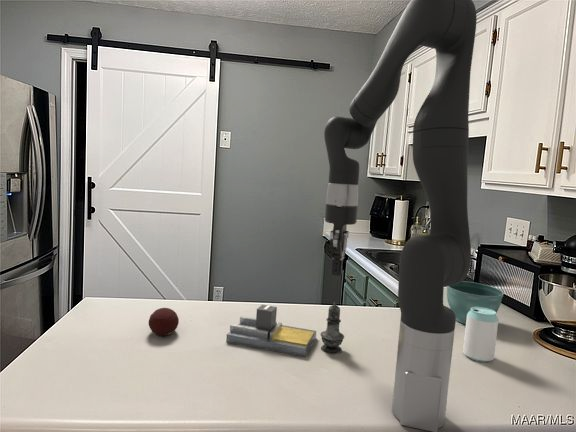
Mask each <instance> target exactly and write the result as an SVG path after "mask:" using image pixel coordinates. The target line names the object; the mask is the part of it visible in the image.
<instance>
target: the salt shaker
mask: <svg viewBox="0 0 576 432" xmlns="http://www.w3.org/2000/svg"><path fill="white" fill-rule="evenodd" d="M327 312H328V313H327V315H328V316H327V318H326V322H327V323H326V324H327V325H326V330H324V331H321V332H320V337H321V341H322V343H323V344H322V345H321V346H320V350H321V352H324V353H327V354H331V355H336V354H337V355H338V354H340V353H342V352H343V349H342V347H341V346H340V345H342V343H343V340H344V339H345V335H344V333H342V332H340V323H341V322H342V320H341V319H340V316H341V308H340V307H339V306H338V305H337V302H336V301H334V302H333V304H332V305H330V306H328V311H327Z"/></svg>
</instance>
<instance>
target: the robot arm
mask: <svg viewBox="0 0 576 432" xmlns="http://www.w3.org/2000/svg"><path fill="white" fill-rule="evenodd" d="M477 17H478V15H477V9H476V6H475V3H474V1H473V0H410V1H409V3H408V4H407V6H406V7H405V9H404V11H403V12H402V15H400V18H399V21H398V22H397V24H396V26H395V28H394V30H393V32H392V34H391V36H390V37H389V39H388V41H387V43H386V46H385V47H384V49H383V52H382V54H381V56H380V57H379V59H378V62H377V64H376V66H375V67H374V69H373V70H372V72H371V74H370V75H369V77H368V79H367V80H366V82H365V83H364V84H363V85H362V86H361V88H360V90H359V91H358V92H357V93H356V95H355V96H354V98H353V99H352V101H351V102H350V105H349V107H348V108H349V109H348V110H349V114H350V116H351V117H346V116H338V115H337V116H332V117H331V118H330V119H329V120H328V121H327V122H326V124H325V127H324V132H323V135H324V143H325V148H326V154H327V158H328V164H329V165H328V166H329V171H328V185H327V190H326V198H325V214H324V221H325V222H326V223H329V224H333V228H332V230H330V232H329V238H330V239H329V242H328V243H329V251H330V255H329V256H330V259H331V260H332V263H331V275H333V276H337V277H340V276H341V275H342V272H343V262H344V259H345V255H346V249H347V248H348V238H349V234H350V232H349V230H347V228H348V227H347V225H355V224H356V223H357V219H358V216H357V215H358V206H359V205H358V204H359V180H360V163H359V162H358V160H356V159H354V158H351V157H348V156H347V153H346V150H345V149H348V150H349V149H350V150H358V149H361V148H363V147H365V146H366V145H367V144H368V142H369V141H370V139H371V138H372V137H371V136H372V135H373V132H374V130H375V128H376V125H377V122H378V120H379V119H380V118H381V117H382V116H383V115H384V113H385V112H386V111H387V110H388V109H389V108H390V106H391V105H392V104H393V102H394V101H395V99H396V97H397V96H398V92H399V89H400V84H401V76H402V72H403V71H402V70H403V67H404V65H405V63H406V62H407V59H409V57H410V56H411V55H412V54H413V53H414V52H415V50H416V49H417V48H419V47H426V48H430V49H434V50H435V55H436V59H435V60H436V61H435V62H436V63H435V64H436V65H435V77H434V81H433V85H432V87H431V89H430V91H429V92H428V94H427V96H426V98H425V99H424V101H423V102H422V104H421V106H420V108H419V111H418V112H417V115H416V116H415V119H414V123H413V127H412V159H413V160H412V161H413V165H414V169H415V172H416V175H417V178H418V180H419V182H420V184H421V186H422V188H423V191H424V193H425V196H426V199H427V201H428V206H429V214H430V217H429V218H430V220H429V221H430V222H429V223H430V227H429V234H422V235H415V236H413V237H411V238H409V239H408V240H407V241H406V242H405V244H404V245H403V247H402V250H401V252H400V257H399V266H398V267H399V268H398V285H397V286H398V289H397V292H398V293H397V301H398V306H399V310H400V323H399V331H398V343H397V350H396V351H397V352H396V363H395V374H394V382H393V384H394V385H393V395H392V397H393V398H392V406H391V407H392V408H391V411H392V414H393V415H394V417H396V419H397V420H398V421H399V425H401V426H406V427H408V428H409V427H410V428H415V429H420V430H424V431H427V432H438V431H439V429H440V428H442V427H443V426H444V425H445V421H446V414H447V413H446V411H447V406H448V395H449V394H448V393H449V383H450V376H451V367H452V366H451V365H452V356H453V347H454V341H455V340H454V339H455V330H456V315H455V313H454V311H453V310H451V309H450V307H448V306H446V305H444V289H445V287H447V286H450V285H455V284H458V283H460V282H462V281H464V280H465V279H466V277H467V276H468V275H469V272H470V269H471V265H472V247H471V235H470V227H469V226H470V225H469V215H468V166H469V165H468V164H469V163H468V162H469V140H470V139H469V138H470V137H469V136H470V135H469V134H470V132H469V131H470V130H469V128H470V126H469V125H470V124H469V122H470V121H469V111H470V110H469V107H470V87H471V73H472V72H471V71H472V70H471V69H472V62H473V57H474V56H473V55H474V49H475V48H474V47H475V42H476V41H475V40H476V31H477Z"/></svg>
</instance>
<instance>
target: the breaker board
mask: <svg viewBox="0 0 576 432" xmlns="http://www.w3.org/2000/svg"><path fill="white" fill-rule="evenodd" d="M316 338H317V330H314V329H307V328H301V327H296V326H295V327H294V326H290V325H284V324H283V323H282V322H280V321H278V322H277V321H276V326H275V327H274V328H273V330H272V331H271V332H270V335H269V330H264V329H258V328H256V317H249V316H243V315H241V316H240V317H239V323H238V324H234V323H231V324H230V325H229V332H228V333H226V343H229V344H235V345H239V346H244V345H245V346H244V347H249V346H250V347H249V348H255V349H259V350H260V349H261V350H265V349H266V350H267V351H271V352H277V353H281V354H288V355H293V356H298V357H303V358H304V357H306V356H307V354H308V352H309V350H310V349H311V348H312V346H313V344H314V343H315V341H316ZM266 350H265V351H266Z"/></svg>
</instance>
